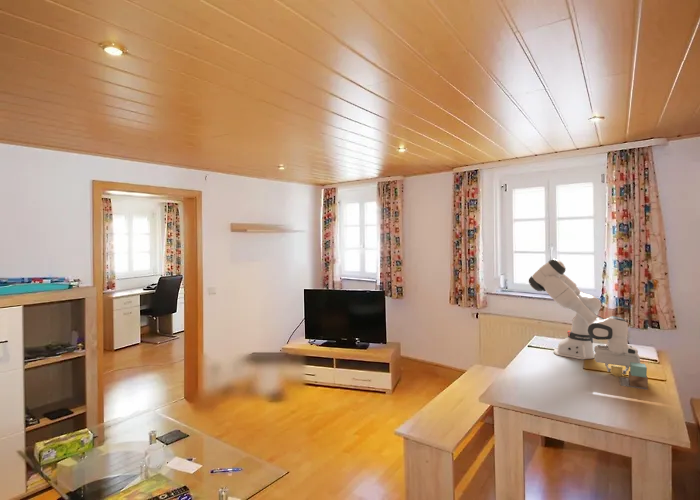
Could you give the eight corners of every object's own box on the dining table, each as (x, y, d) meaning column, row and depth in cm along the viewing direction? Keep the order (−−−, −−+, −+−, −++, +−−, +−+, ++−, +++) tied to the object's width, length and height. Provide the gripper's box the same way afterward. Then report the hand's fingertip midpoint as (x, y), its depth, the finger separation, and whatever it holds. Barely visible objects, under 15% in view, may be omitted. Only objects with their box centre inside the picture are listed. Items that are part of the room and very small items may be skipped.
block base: (630, 385, 197) (630, 375, 197) (628, 380, 203) (628, 371, 203) (647, 388, 193) (647, 378, 193) (645, 383, 199) (645, 373, 199)
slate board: (620, 387, 197) (620, 385, 197) (618, 378, 208) (618, 376, 208) (648, 391, 192) (648, 389, 192) (644, 382, 203) (644, 380, 203)
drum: (611, 376, 211) (611, 367, 211) (610, 373, 215) (611, 364, 215) (622, 378, 208) (622, 368, 208) (621, 375, 213) (622, 366, 212)
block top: (631, 375, 197) (631, 365, 196) (630, 371, 202) (630, 362, 202) (646, 377, 194) (646, 367, 193) (644, 373, 199) (644, 363, 199)
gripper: (594, 346, 213) (594, 371, 214) (641, 351, 203) (640, 378, 204) (594, 343, 219) (593, 367, 220) (639, 348, 209) (639, 374, 209)
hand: (616, 372), depth 212 cm, fingers open, 5 cm apart
